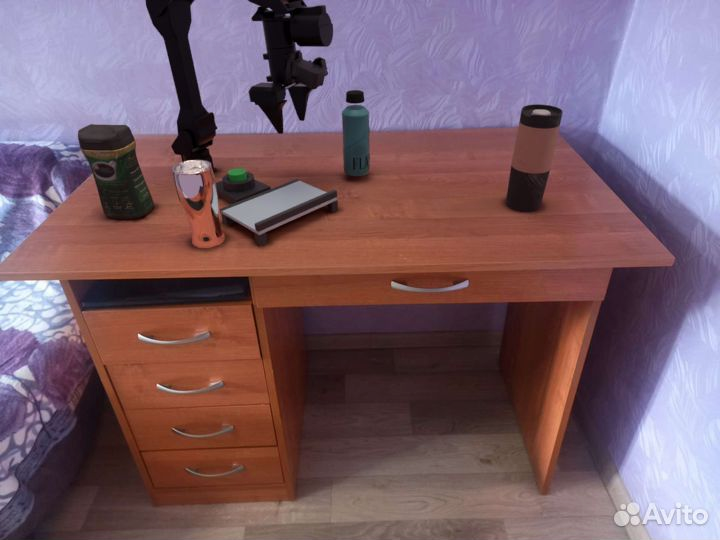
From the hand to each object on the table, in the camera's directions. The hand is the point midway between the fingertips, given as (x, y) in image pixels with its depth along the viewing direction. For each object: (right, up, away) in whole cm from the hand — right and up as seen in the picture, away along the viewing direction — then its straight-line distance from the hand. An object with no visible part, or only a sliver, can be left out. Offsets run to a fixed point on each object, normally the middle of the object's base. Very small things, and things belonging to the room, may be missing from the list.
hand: (291, 126), depth 100 cm
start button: (-13, -10, +5) cm, 17 cm away
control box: (-13, -13, +7) cm, 20 cm away
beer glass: (-15, -25, -9) cm, 30 cm away
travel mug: (+49, -16, +1) cm, 52 cm away
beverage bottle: (+14, -8, +14) cm, 21 cm away
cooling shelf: (-2, -19, -2) cm, 20 cm away
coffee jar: (-35, -18, +1) cm, 39 cm away
